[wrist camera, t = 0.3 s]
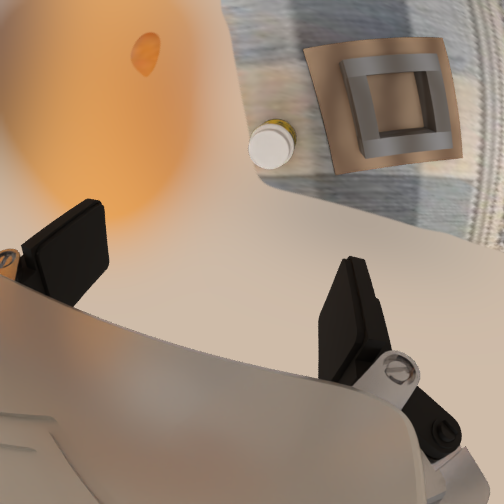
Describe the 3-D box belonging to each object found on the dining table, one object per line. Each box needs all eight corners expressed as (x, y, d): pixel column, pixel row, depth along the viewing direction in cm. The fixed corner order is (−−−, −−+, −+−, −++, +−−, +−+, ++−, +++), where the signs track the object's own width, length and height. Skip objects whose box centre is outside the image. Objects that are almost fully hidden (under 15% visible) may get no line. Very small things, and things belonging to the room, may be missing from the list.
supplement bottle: (304, 141, 33) (303, 157, 26) (273, 162, 36) (264, 183, 29) (280, 110, 32) (272, 117, 25) (250, 132, 34) (234, 145, 27)
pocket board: (439, 38, 22) (456, 34, 18) (459, 156, 29) (477, 166, 25) (303, 50, 27) (302, 43, 23) (335, 172, 35) (338, 185, 31)
